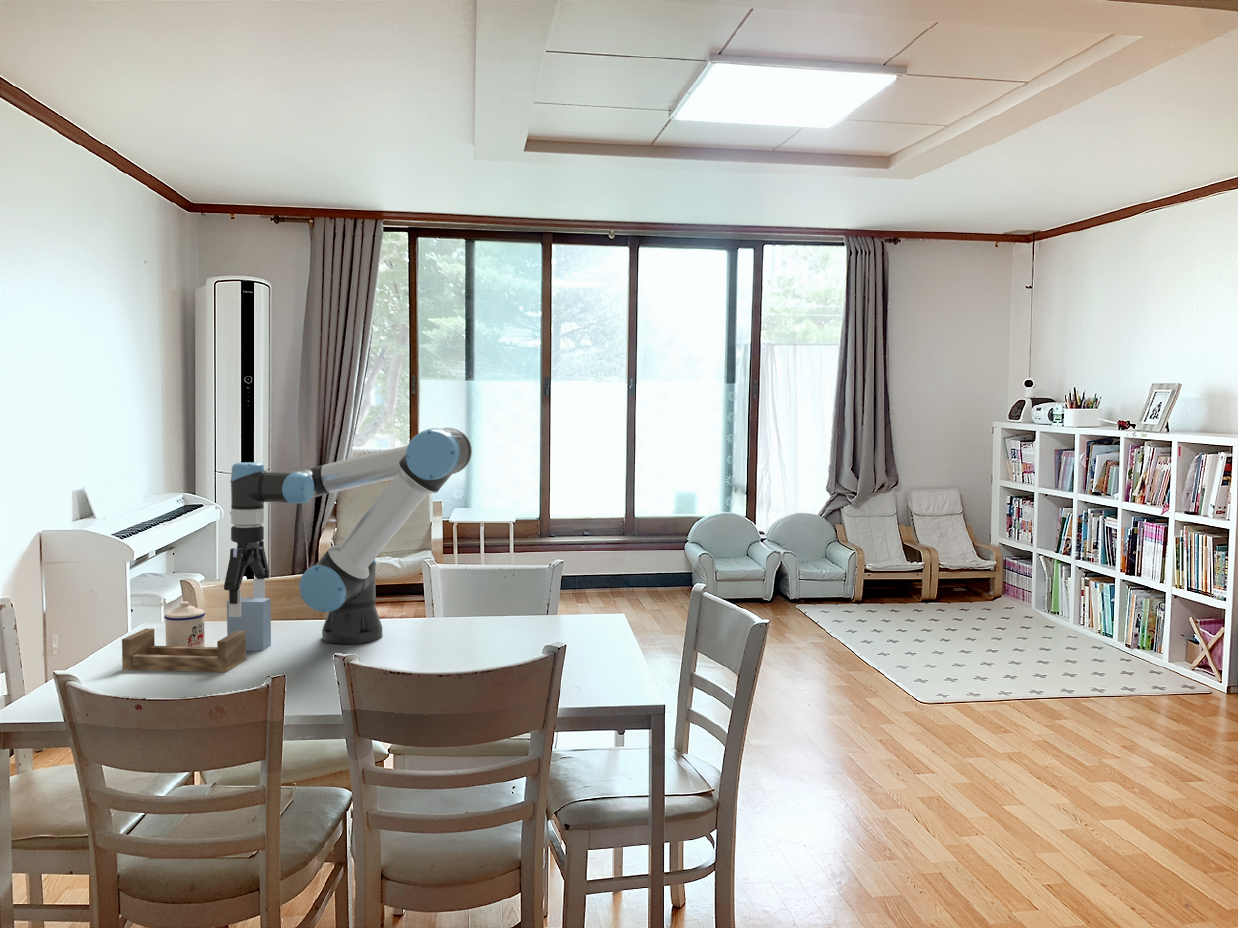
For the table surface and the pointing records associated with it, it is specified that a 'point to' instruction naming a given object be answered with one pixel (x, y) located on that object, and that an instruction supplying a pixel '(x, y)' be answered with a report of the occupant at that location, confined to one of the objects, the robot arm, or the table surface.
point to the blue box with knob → (253, 622)
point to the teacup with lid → (185, 626)
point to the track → (182, 654)
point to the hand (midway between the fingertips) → (247, 610)
